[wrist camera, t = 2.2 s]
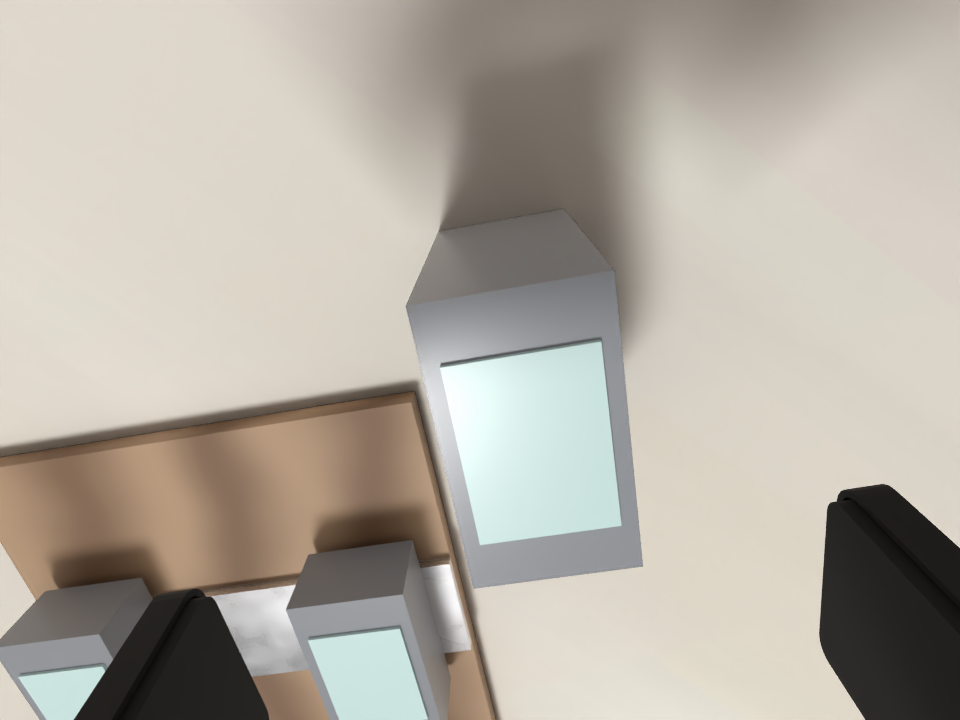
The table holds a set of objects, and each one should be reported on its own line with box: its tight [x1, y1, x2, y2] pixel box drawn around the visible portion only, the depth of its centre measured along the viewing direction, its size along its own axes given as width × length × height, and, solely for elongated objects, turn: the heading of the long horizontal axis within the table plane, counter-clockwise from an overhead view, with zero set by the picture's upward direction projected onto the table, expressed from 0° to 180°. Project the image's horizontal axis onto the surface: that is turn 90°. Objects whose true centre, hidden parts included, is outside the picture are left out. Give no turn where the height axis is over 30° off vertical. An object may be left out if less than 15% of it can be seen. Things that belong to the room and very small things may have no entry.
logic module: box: [406, 209, 643, 588], centre depth 18 cm, size 4×8×9 cm, turn 10°
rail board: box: [0, 391, 496, 720], centre depth 26 cm, size 19×20×5 cm
